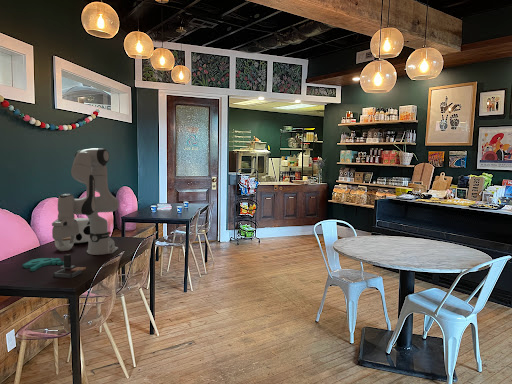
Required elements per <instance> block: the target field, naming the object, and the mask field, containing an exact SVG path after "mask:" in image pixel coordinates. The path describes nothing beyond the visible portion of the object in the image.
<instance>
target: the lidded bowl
mask: <svg viewBox="0 0 512 384" xmlns="http://www.w3.org/2000/svg"><path fill="white" fill-rule="evenodd" d="M70 239H71V237H67V238H64V239H63V241H62V242H63V243H64V246H62V247H60V246H59V242H58V240H54V246H55V248H56V249H57V250H58V251H59V252H65V251H71V249H72V248H73V246H74V245H75V244H74V243H70V242H69V240H70Z"/></svg>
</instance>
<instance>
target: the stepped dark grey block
mask: <svg viewBox="0 0 512 384" xmlns="http://www.w3.org/2000/svg"><path fill="white" fill-rule="evenodd" d="M63 261H64V265H61V266H59V268H60V269H65V270H66V269H68V270H72V269H74V268H76V265H72V254H71V253H70V254H69V253H68V254H67V253H65V254H63Z"/></svg>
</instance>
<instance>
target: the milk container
mask: <svg viewBox="0 0 512 384" xmlns="http://www.w3.org/2000/svg"><path fill="white" fill-rule="evenodd" d="M75 220H76V221H77V223H78V226H79V234H78V235H75V238H74V245H79V244H80V245H81V244H87V243H88V242H89V240H90V222H89V219H88V217H87V218H85V217H80V218H75Z"/></svg>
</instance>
